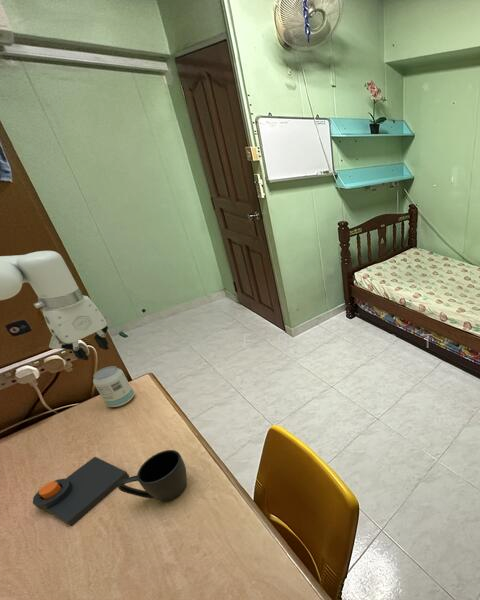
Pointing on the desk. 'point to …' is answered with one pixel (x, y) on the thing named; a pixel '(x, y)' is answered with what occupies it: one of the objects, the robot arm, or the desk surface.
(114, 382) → the white supplement bottle
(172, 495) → the mug
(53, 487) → the button
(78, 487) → the scale
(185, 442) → the desk surface
